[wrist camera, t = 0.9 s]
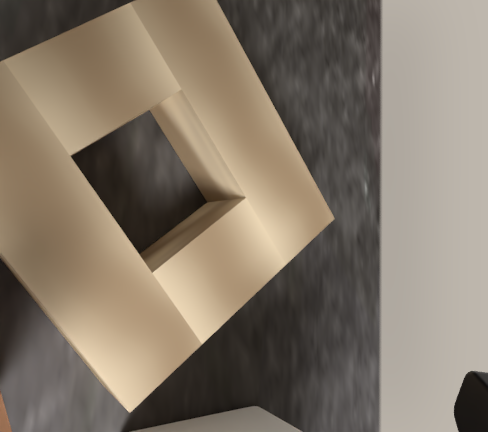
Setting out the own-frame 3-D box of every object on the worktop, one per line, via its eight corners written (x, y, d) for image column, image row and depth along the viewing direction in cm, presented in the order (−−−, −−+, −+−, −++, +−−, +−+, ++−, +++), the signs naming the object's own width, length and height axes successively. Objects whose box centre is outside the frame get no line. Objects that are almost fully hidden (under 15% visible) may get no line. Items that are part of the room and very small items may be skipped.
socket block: (103, 385, 19) (130, 412, 16) (-100, 134, 16) (-112, 112, 13) (289, 220, 25) (334, 218, 22) (166, 6, 21) (200, -30, 18)
